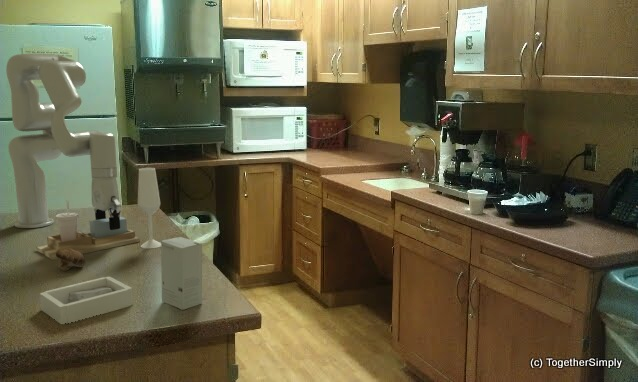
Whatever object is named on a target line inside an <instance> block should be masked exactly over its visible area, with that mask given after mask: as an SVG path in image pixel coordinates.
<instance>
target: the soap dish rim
mask: <svg viewBox="0 0 638 382" xmlns="http://www.w3.org/2000/svg"><path fill="white" fill-rule="evenodd" d="M103 286H105V287H108V288H111V290H112V291H113V292H110V293H107V294H103V295H99V296H95V297H91V298H87V299H84V300H80V301H76V302H72V303H68V298H69V293H73V292H78V291H82V290H88V289H93V288H98V287H103ZM133 297H134V296H133V287H131V286H129V285H127V284H126V283H123V282H121V281H119V280H117V279H116V278H113V277H111V276H104V277H100V278H94V279H90V280H87V281H83V282H78V283H74V284H70V285H66V286H61V287H57V288H54V289H50V290H46V291H44V292H39V301H40V308H41V309H40V310H41V311H42V312H43V313H45V314H46V315H47V316H49V317H51V319H53V320H54V319H55V320H54V321H56V322H57V323H59V324H60V325H61V324H63V325H66V324H68V323H69V324H72V323H71V322H73V323H75V321H76V322H79V321H78V320H80V321H83V320H86V319H85V318H87V319H90V318H93V316H94V317H96V315H97V316H100V314H101V315H104V314H107V313H110V312H114V311H117V310H122V309H126V308H128V307H130V306H133V305H134V298H133ZM89 317H90V318H89ZM82 319H83V320H82ZM65 323H66V324H65Z"/></svg>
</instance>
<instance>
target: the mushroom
mask: <svg viewBox="0 0 638 382" xmlns="http://www.w3.org/2000/svg"><path fill="white" fill-rule="evenodd" d="M56 257H57V258H58V259H57V260H60V262H59V264H58V265H57V267H58V268H59V269H61V271H66V272H67V271H68V270H70V268H72V267H77V268H83V267H84V266H85V265H86V264H85V263H86V259H85V256H84V254H81V253H80V252H78V251H76V250H73V249H70V248H62V249H60V250H58V251H57V252H56Z"/></svg>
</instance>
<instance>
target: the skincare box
mask: <svg viewBox="0 0 638 382" xmlns="http://www.w3.org/2000/svg"><path fill="white" fill-rule="evenodd" d="M160 243H161V248H160V249H161V251H160V252H161V253H160V255H161V257H160V258H161V259H160V260H161V261H160V262H161V263H160V264H161V302H162V303H164V304H166V305H170V306H172V307H175V308H178V309H179V310H180V311H181V310H182V311H183V310H186V309H190V308H194V307H196V306H199V305H202V304H203V285H202V284H203V283H202V282H203V279H202V278H203V276H202V275H203V264H202V263H203V262H202V261H203V259H202V258H203V250H202V249H203V248H202V247H203V246H202V245H203V244H202V243H200V242H197V241H194V240H193V239H190V238H184V237H183V236H178V237H177V236H176V237H173V238H168V239H162V240H160Z"/></svg>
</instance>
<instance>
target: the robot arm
mask: <svg viewBox="0 0 638 382" xmlns="http://www.w3.org/2000/svg"><path fill="white" fill-rule="evenodd" d="M5 67H6V70H5V71H6V77H7V80H8V84H9V87H10V91H11V92H10V94H11V96H10V97H11V116H12V124H13V127H14V129H16V130H17V131H19V132H41V131H42V133H38V134H37V133H36V134H24V135H17V136H15V137H13V138H12V139H10V141H9V143H8V152H9V153H8V154H9V157H10V160H11V163H12V168H13V169H12V170H13V175H14V183H15V194H16V203H17V212H18V213H17V214H18V220H17V221H15V222H14V227H16V228H18V229H36V228H42V227H47V226H50V225H53V224H54V222H55V221H54V219H53V218H52V217H49V208H48V197H47V186H46V179H45V178H46V175H45V173H44V171H43V169H42V168H41V167H40V165H39V164H38V163H39V162H44V161H51V160H57V159H59V157H60V156H61V154H63V155H64V156H66V157H69V158H75V157H82V156H89V158H90V170H91V171H90V172H91V205H92V207H93V209H94V216H95V220H100V219H106V218H107V216H106V215H107V214H106V211H107V213H108V215H109V217H108V218H109V226H110V230H116V229H120V216H121V208H122V204H121V203H120V197H119V195H120V193H119V188H118V182H117V178H118V166H117V153H116V152H117V151H116V137H115V134H113V133H111V132H102V131H99V130H82V131H71V132H70V129H69V128H68V126H67V124H66V120H65V119H66V118H65V117H66V116H68V115H70V114H71V113H74V112H75V111H76V110H78V109H79V107H80V106H82V102H83V101H82V98H81V96H80V93H79V92H78V90H77V88H78V87H82V86H84V84H85V83H86V80H87V73H86V70H85V69H84V66H83V65H82V64H81V63H79V62H78V61H76V60H74V59H71V58H68V57H65V56H63V55H59V54H51V53H50V54H47V53H46V54H45V53H19V54H15V55H12V56H11V57H10V58H9V59H8V60H7V63H6V66H5ZM34 81H41V83H42V84H43V85H42V86H43V87H44V89H45V91H46V94H47V96H48V97H49V99H50V101H51V102H40V91H39V88H38V87H37V84H35V82H34Z"/></svg>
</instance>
